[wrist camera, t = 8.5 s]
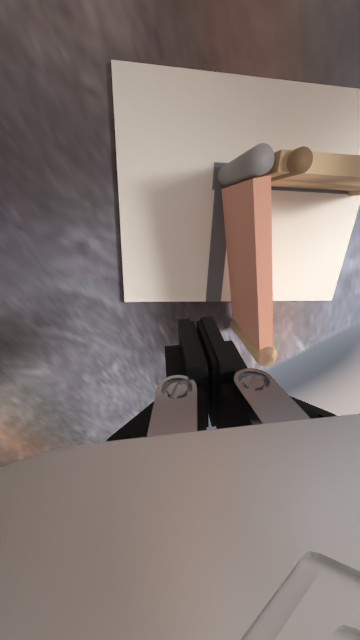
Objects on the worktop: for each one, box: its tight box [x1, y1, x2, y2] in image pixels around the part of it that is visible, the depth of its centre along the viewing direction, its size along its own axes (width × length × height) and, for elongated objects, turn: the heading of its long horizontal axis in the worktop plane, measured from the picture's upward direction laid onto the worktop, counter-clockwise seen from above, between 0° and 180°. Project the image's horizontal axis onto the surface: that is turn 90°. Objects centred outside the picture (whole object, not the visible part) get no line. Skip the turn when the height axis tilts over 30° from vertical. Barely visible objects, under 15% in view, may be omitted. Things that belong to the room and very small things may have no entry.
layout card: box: [111, 60, 360, 302], centre depth 20 cm, size 20×16×1 cm
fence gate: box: [218, 143, 277, 366], centre depth 18 cm, size 14×2×6 cm, turn 10°
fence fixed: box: [240, 146, 360, 196], centre depth 17 cm, size 11×2×7 cm, turn 88°
